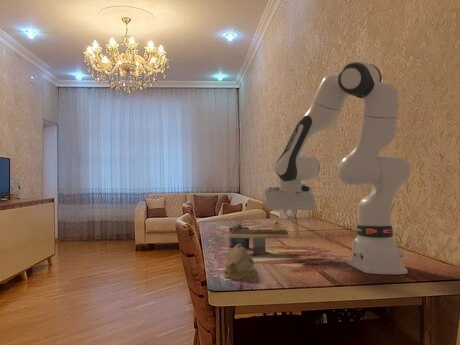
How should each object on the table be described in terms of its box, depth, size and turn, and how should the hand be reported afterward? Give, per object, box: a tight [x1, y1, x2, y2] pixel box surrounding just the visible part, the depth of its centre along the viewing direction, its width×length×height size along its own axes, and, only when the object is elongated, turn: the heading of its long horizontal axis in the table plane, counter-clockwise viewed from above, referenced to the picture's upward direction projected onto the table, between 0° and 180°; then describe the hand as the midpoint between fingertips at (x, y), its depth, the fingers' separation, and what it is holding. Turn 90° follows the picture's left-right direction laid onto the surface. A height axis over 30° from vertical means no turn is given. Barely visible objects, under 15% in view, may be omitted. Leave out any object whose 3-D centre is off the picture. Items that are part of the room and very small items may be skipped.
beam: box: [230, 225, 290, 255], centre depth 168 cm, size 6×24×11 cm, turn 86°
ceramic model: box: [223, 243, 259, 281], centre depth 130 cm, size 14×11×10 cm
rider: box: [271, 220, 281, 231], centre depth 168 cm, size 3×3×5 cm
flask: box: [228, 222, 250, 249], centre depth 182 cm, size 9×3×11 cm, turn 73°
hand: (289, 220), depth 168 cm, fingers closed
